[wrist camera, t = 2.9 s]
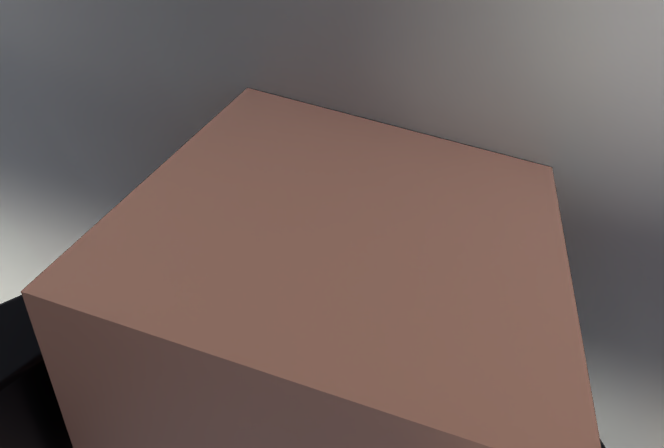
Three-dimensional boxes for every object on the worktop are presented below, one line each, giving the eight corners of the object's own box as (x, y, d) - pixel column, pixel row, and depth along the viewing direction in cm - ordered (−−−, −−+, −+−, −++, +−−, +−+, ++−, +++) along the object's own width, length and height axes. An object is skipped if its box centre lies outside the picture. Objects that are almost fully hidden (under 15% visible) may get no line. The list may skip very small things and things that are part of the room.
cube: (551, 167, 8) (607, 485, 4) (454, 364, 11) (428, 653, 7) (247, 87, 8) (20, 292, 4) (236, 296, 11) (99, 525, 7)
